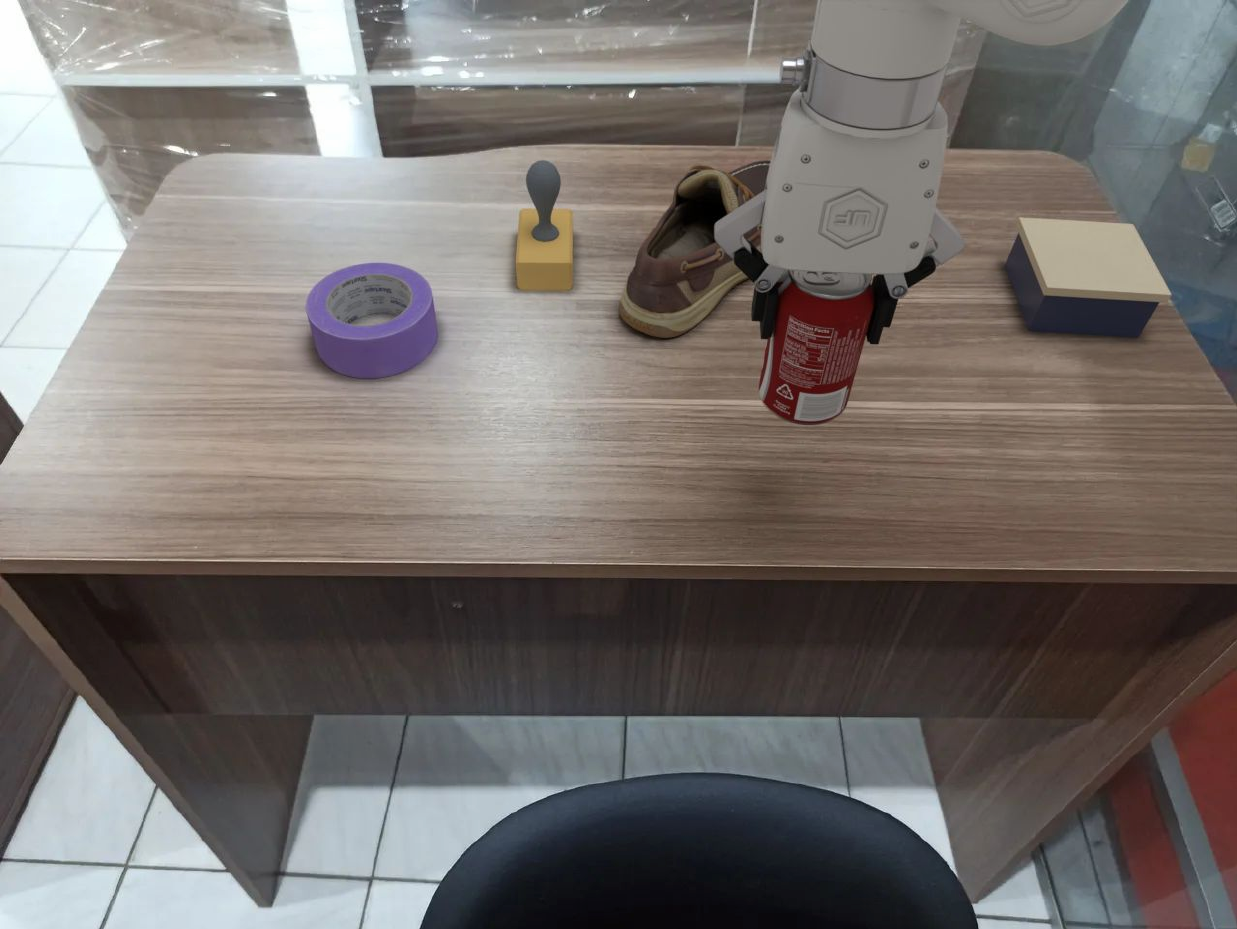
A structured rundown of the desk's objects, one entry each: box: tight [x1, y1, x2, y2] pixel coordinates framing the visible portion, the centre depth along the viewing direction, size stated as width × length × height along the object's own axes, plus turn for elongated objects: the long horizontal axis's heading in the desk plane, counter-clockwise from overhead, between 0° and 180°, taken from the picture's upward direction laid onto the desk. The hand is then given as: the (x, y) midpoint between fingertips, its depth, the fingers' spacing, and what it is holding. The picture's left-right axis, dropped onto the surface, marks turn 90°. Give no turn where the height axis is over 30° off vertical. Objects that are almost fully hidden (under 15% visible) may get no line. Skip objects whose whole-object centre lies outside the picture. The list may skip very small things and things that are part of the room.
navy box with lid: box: [1004, 216, 1173, 339], centre depth 94 cm, size 12×12×6 cm
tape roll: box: [305, 262, 439, 380], centre depth 87 cm, size 12×12×5 cm
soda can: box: [758, 270, 875, 426], centre depth 65 cm, size 7×7×12 cm
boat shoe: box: [618, 159, 771, 339], centre depth 95 cm, size 30×11×11 cm, turn 144°
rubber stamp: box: [515, 159, 574, 291], centre depth 93 cm, size 10×6×12 cm, turn 2°
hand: (817, 327), depth 64 cm, fingers closed on soda can, 6 cm apart
